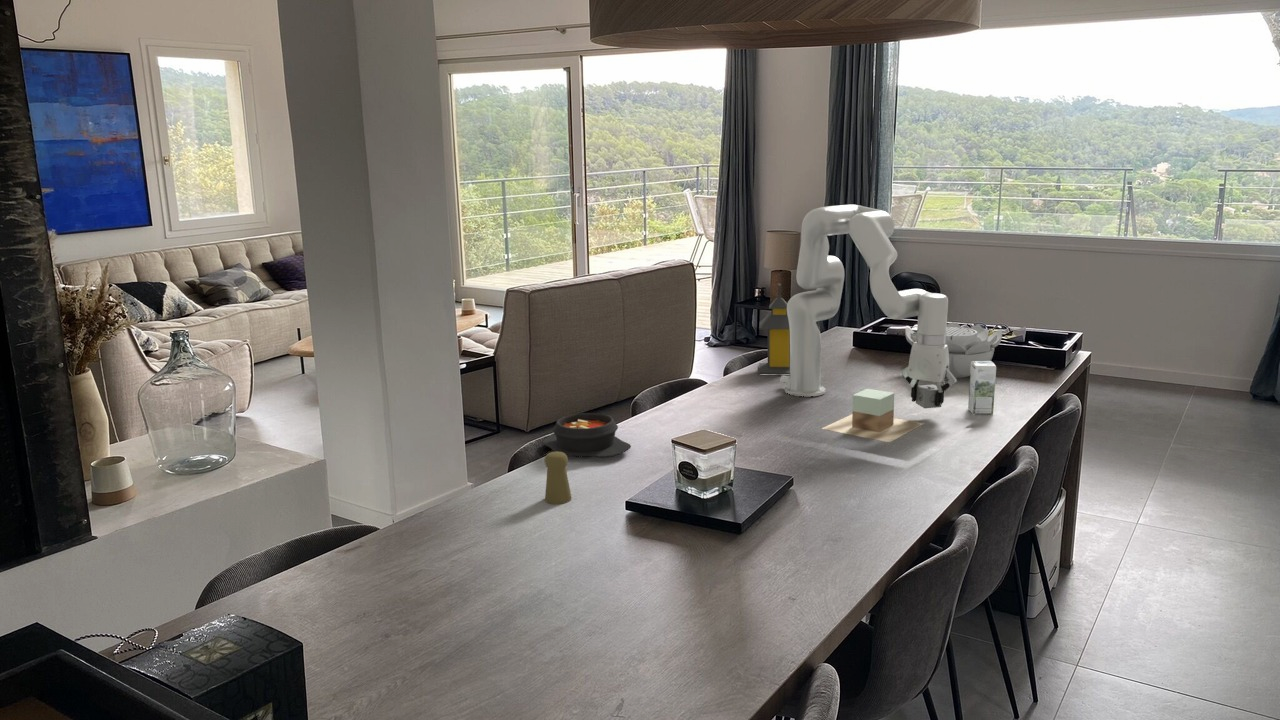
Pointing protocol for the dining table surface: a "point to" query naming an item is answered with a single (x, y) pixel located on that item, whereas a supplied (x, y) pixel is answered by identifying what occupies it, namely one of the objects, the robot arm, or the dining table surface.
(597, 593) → the dining table surface
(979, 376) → the syrup box
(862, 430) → the oak board
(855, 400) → the sage block
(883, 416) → the walnut block
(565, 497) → the olive peg figure
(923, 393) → the dice cube
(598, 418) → the casserole
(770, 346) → the lantern
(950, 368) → the decorative bowl
